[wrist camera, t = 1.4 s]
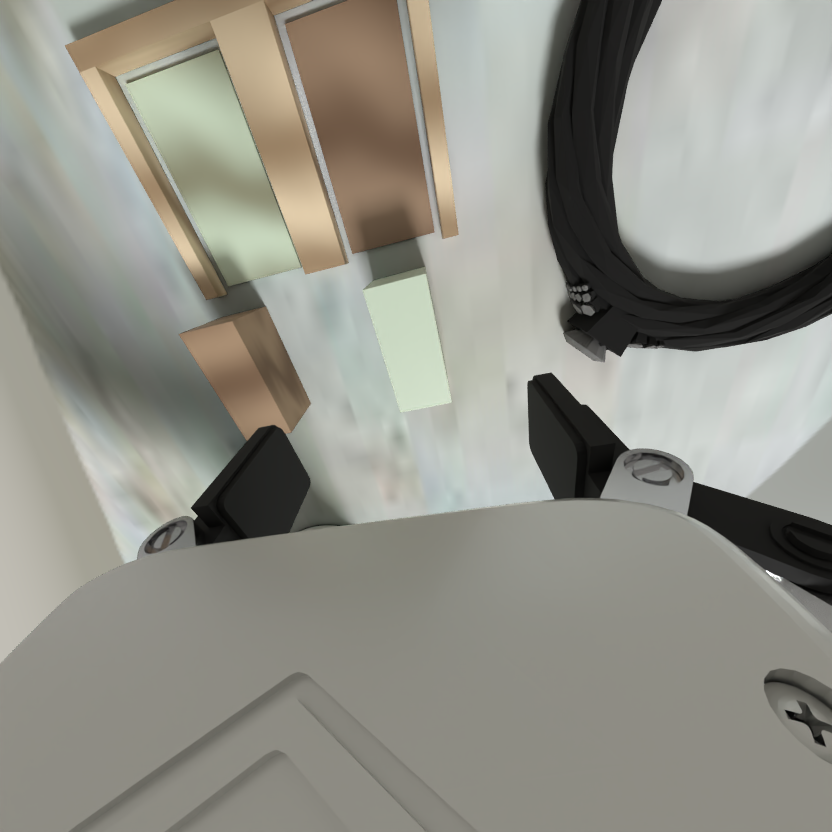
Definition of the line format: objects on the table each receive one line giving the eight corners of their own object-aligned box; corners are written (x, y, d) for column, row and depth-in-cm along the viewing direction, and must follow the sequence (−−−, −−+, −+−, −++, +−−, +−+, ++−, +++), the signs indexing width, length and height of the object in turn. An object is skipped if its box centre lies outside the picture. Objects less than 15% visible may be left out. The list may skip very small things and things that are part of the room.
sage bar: (447, 375, 26) (451, 402, 22) (403, 384, 27) (400, 412, 23) (425, 266, 22) (425, 273, 18) (373, 280, 22) (362, 290, 18)
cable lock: (1424, -85, 12) (706, 439, 25) (1205, -15, 15) (673, 416, 28) (1446, -1604, 5) (433, 248, 18) (1025, -848, 8) (431, 247, 21)
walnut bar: (311, 402, 28) (291, 432, 24) (272, 410, 29) (246, 440, 24) (266, 305, 24) (231, 321, 19) (222, 317, 24) (178, 334, 20)
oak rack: (456, 235, 21) (458, 234, 20) (215, 297, 23) (206, 300, 22) (416, -75, 14) (415, -99, 13) (86, 57, 17) (64, 45, 16)
